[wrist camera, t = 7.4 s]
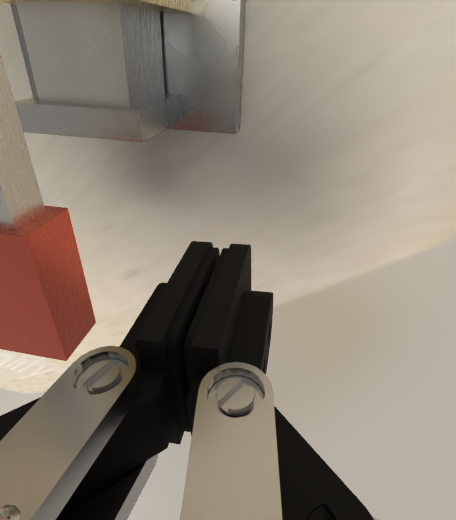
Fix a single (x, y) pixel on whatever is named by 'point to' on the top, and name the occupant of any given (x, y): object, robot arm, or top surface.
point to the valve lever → (35, 255)
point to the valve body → (130, 66)
